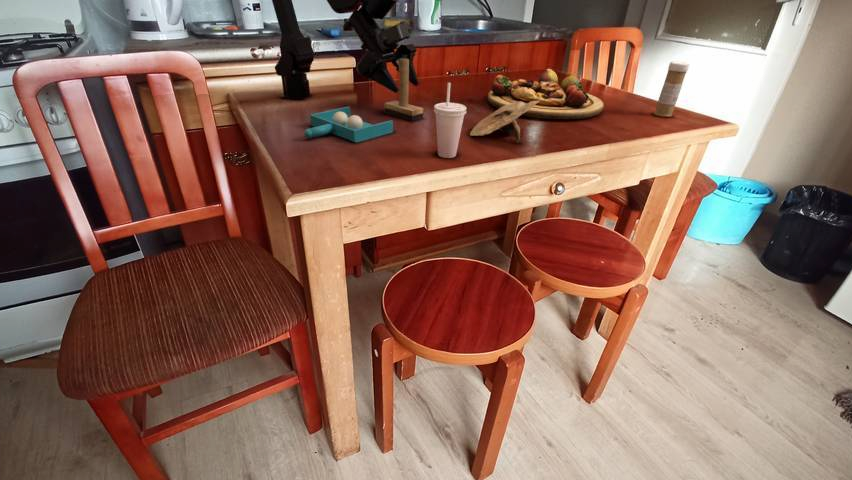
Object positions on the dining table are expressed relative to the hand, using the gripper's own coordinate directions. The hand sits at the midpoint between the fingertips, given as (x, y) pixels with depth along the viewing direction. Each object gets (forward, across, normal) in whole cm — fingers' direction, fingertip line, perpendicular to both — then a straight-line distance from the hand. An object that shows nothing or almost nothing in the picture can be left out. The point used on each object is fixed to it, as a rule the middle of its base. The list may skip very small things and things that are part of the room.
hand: (407, 88), depth 111 cm
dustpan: (+1, -20, +9) cm, 22 cm away
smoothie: (+20, -18, -10) cm, 29 cm away
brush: (+4, 0, +6) cm, 7 cm away
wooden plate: (+23, +33, -12) cm, 42 cm away
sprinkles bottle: (+44, +44, -34) cm, 71 cm away
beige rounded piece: (-2, -16, +8) cm, 18 cm away
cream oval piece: (+1, -16, +5) cm, 17 cm away
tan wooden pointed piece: (+23, 0, -13) cm, 26 cm away
